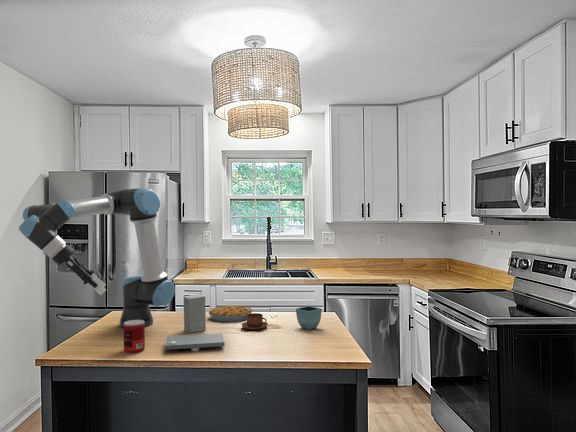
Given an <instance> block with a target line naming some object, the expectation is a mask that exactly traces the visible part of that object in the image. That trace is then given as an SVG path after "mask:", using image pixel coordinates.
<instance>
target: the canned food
mask: <svg viewBox="0 0 576 432" xmlns="http://www.w3.org/2000/svg"><path fill="white" fill-rule="evenodd" d="M145 328H146V327H145V322H144V321H143V320H130V321H126V322H124V327H122V329H123V351H124V353H127V354H138V353H141V351H142V352H143V351H144V350H145V349H146V341H145V339H146V331H145V330H146V329H145ZM137 352H138V353H137Z"/></svg>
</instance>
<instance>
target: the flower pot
mask: <svg viewBox="0 0 576 432" xmlns="http://www.w3.org/2000/svg"><path fill="white" fill-rule="evenodd" d="M322 310H323V309H322V308H321V307H316V306H311V305H306V306H301V307H297V308H295V314H296V319H297V322H298V324H299V327H301V328H302V329H305V330H313V329H317V328H318V326H319V325H320V323H321V318H322V312H323V311H322Z"/></svg>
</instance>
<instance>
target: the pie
mask: <svg viewBox="0 0 576 432" xmlns="http://www.w3.org/2000/svg"><path fill="white" fill-rule="evenodd" d="M251 313H253V309H252V308H251V307H246V306H244V305H243V306H241V305H223V306H222V305H221V306H220V307H219V306H215V308H211V309H210V310H209V311H208V315H210V318H211V320H212V321H215V322H223V323H224V322H225V323H232V322H235V323H237V322H241V321H245V320H246V321H247V314H251Z"/></svg>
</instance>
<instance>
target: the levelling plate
mask: <svg viewBox="0 0 576 432" xmlns="http://www.w3.org/2000/svg"><path fill="white" fill-rule="evenodd" d="M225 346H226V345H225V339H224V336H223V333H222V332H220V333H219V332H217V333H215V332H214V333H199V334H197V333H196V334H183V335H182V334H181V335H180V334H179V335H167V336H166V342H165V350H166V351H167V350H168V351H169V350H181V349H182V350H183V349H191V350H190V351H191V352H199V351H200V348H201V349H202V348H215V347H216V348H217V347H225Z"/></svg>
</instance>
